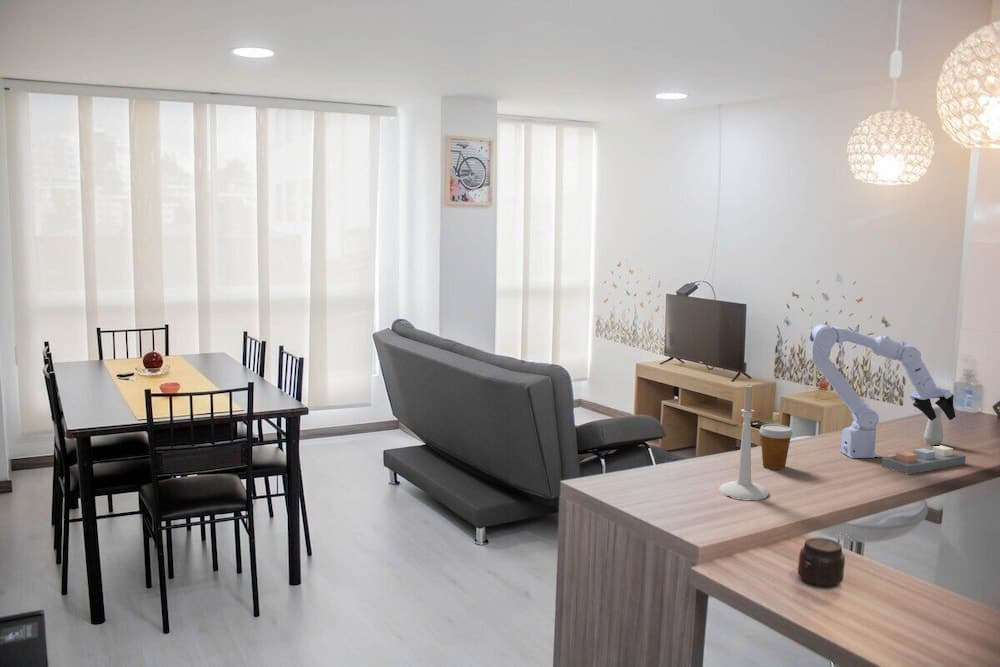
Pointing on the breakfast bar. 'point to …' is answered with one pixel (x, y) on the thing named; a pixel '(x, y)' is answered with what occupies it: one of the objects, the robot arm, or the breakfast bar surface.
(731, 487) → the candlestick
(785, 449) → the disposable coffee cup
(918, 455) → the slate key
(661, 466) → the breakfast bar surface
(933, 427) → the salt shaker
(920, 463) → the key panel
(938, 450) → the cream key
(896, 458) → the terracotta key
